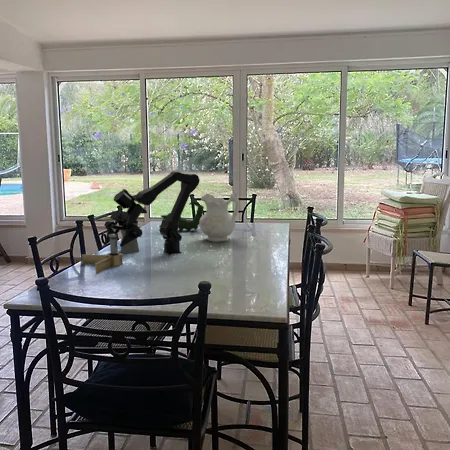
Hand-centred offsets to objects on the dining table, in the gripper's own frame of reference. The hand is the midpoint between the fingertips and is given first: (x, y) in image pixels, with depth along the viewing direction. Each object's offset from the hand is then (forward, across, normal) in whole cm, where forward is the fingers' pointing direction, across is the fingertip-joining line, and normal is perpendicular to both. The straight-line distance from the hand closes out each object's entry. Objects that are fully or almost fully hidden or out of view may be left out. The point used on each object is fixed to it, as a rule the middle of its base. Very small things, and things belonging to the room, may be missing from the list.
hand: (113, 244), depth 190 cm
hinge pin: (+6, 0, +6) cm, 9 cm away
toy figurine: (-47, -28, +60) cm, 81 cm away
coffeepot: (-9, -15, +22) cm, 28 cm away
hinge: (+8, -1, +4) cm, 9 cm away
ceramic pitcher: (-41, +5, +54) cm, 68 cm away
